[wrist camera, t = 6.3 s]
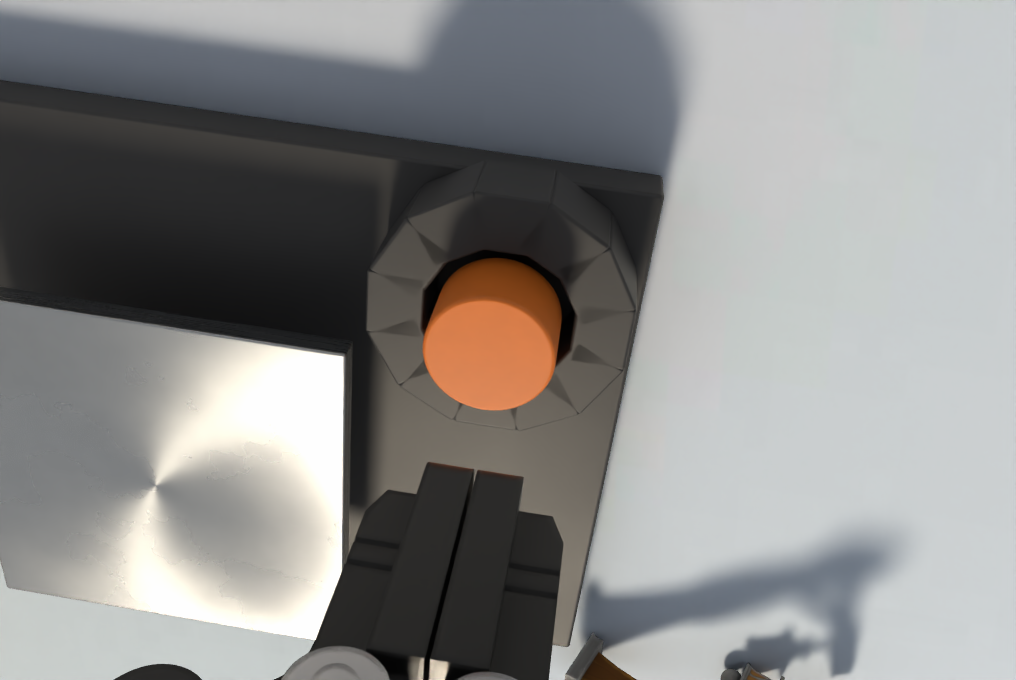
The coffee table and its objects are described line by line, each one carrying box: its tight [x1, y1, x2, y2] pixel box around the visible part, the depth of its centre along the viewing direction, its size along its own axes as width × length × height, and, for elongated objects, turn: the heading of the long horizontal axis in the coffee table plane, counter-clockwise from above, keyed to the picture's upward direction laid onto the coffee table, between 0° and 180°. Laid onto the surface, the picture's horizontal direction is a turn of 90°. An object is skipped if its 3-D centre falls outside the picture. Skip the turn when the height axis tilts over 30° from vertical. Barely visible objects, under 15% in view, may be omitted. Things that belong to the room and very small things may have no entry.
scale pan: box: [0, 287, 353, 640], centre depth 22 cm, size 9×9×1 cm
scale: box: [0, 80, 664, 647], centre depth 23 cm, size 16×14×3 cm
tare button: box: [423, 258, 562, 410], centre depth 18 cm, size 3×3×2 cm
